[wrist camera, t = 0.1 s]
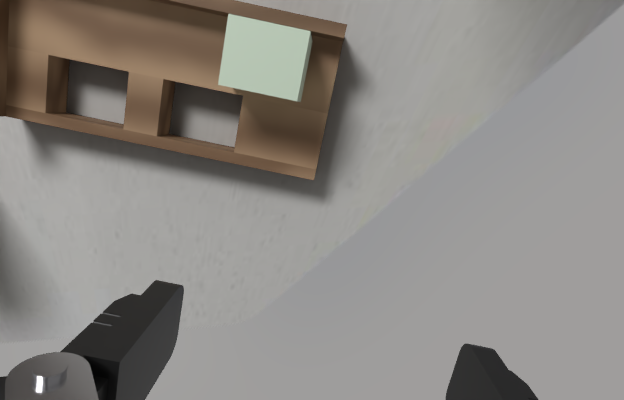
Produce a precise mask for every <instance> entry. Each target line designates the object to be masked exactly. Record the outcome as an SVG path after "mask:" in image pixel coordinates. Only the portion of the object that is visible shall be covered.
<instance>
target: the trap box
mask: <svg viewBox="0 0 624 400" xmlns="http://www.w3.org/2000/svg"><path fill="white" fill-rule="evenodd" d="M228 14H233V15H237V16H242V17H247V18H251V19H256V20H261V21H265V22H270V23H275V24H279V25H284V26H289V27H293V28H298V29H303V30H307V31H311V36H312V47H311V52H310V57H309V62H308V67H307V73H306V78H305V83H304V88H303V93H302V98H301V102H298V101H293V100H288V99H283V98H279V97H274V96H269V95H264V94H260V93H255V92H250V91H246V90H241V89H236V88H231V87H227V86H222V85H218V81H219V74H220V67H221V61H222V54H223V47H224V40H225V33H226V27H227V20H228ZM346 27H347V25H346V24H342V23H337V22H332V21H328V20H323V19H319V18H314V17H309V16H305V15H300V14H295V13H291V12H286V11H281V10H277V9H272V8H267V7H263V6H258V5H253V4H249V3H244V2H240V1H235V0H0V116H7V117H12V118H17V119H22V120H26V121H31V122H36V123H41V124H46V125H50V126H55V127H60V128H65V129H70V130H74V131H79V132H84V133H89V134H94V135H99V136H103V137H108V138H113V139H118V140H123V141H127V142H132V143H137V144H142V145H147V146H151V147H156V148H161V149H166V150H171V151H176V152H180V153H185V154H190V155H195V156H200V157H204V158H209V159H214V160H219V161H224V162H228V163H233V164H238V165H243V166H248V167H253V168H257V169H262V170H267V171H272V172H277V173H281V174H286V175H291V176H296V177H301V178H305V179H310V180H314V177H315V173H316V168H317V163H318V158H319V154H320V149H321V144H322V139H323V135H324V130H325V125H326V120H327V115H328V111H329V106H330V101H331V96H332V92H333V87H334V82H335V77H336V73H337V68H338V63H339V58H340V54H341V49H342V44H343V40H344V36H345V31H346ZM70 59H71V60H76V61H81V62H85V63H90V64H95V65H99V66H104V67H109V68H114V69H118V70H123V71H128V72H129V77H128V87H127V97H126V108H125V118H124V124H119V123H114V122H109V121H105V120H100V119H95V118H90V117H85V116H81V115H76V114H71V113H66V107H67V92H68V76H69V61H70ZM175 82H180V83H185V84H190V85H194V86H199V87H204V88H209V89H213V90H218V91H223V92H227V93H232V94H237V95H242V96H243V99H242V106H241V112H240V118H239V124H238V130H237V137H236V143H235V148H234V147H229V146H224V145H220V144H215V143H210V142H205V141H200V140H196V139H191V138H186V137H181V136H176V135H172V134H169V131H170V123H171V115H172V107H173V99H174V90H175Z"/></svg>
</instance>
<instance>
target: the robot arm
mask: <svg viewBox="0 0 624 400" xmlns="http://www.w3.org/2000/svg"><path fill="white" fill-rule="evenodd" d="M183 294H184V288H183V286H182V285H178V284H173V283H168V282H163V281H158V280H156V281H154V282H153V283H152V284H151V285H150V286H149V287H148V288H147V290H146V291H145V292H144V293H143V294H142V295H141V296H140V295H136V294H130V295H127V296H125V297H123V298H121V299H118V300H116V301H114V302H113V303H112V304H111V305H110V306H109V307H108V308H107V309H106V310H104V311H103V314H100V315H99V316H98V317H97V318H96V319H95V320H94V322H93V323H91V324H90V325H88V326H87V327H86V328H85V329H84V330H83V331H82V332H81V333H80V334H79V335H78V336H77V337H76V338H75V339H74V340H72V341H71V343H69V344H68V345H67V346H66V347H65V348H64V349H63V350H62V351H61V352H53V353H46V354H42V355H38V356H35V357H32V358H30V359H27V360H25V361H23V362H21V363H20V364H19V365H17V366H16V367H15V368H13V369H12V370H11V371H10V373H9V374H8V376H6V377H0V400H145V399H146V397H147V395H148V394H149V392H150V390H151V389H152V387H153V385H154V384H155V382H156V380H157V379H158V377H159V375H160V374H161V372H162V370H163V369H164V367H165V365H166V364H167V362H168V361H169V359H170V357H171V355H172V353H173V350H174V347H175V343H176V340H177V335H178V329H179V322H180V315H181V308H182V301H183ZM446 400H538V398H537V397H536V396H535V394H534V393H533V392H532V390H531V389H530V387H529V386H528V385H527V384H526V383H525V382H524V381H523V380H521V379H520V378H519V377H518V376H517V375H515V374H514V373H513V372H512V371H509V370H508V368H507V367H506V366H505V364H504V363H503V361H502V360H501V358H500V357H499V356H498V354H497V353H496V351H495V350H493V349H491V348H486V347H481V346H476V345H471V344H464V345H463V346H462V348H461V350H460V352H459V355H458V358H457V361H456V364H455V368H454V371H453V374H452V377H451V380H450V383H449V386H448V389H447V393H446Z"/></svg>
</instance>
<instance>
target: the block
mask: <svg viewBox="0 0 624 400" xmlns="http://www.w3.org/2000/svg"><path fill="white" fill-rule="evenodd" d="M311 47H312V36H311V31H307V30H303V29H298V28H293V27H289V26H284V25H279V24H275V23H270V22H265V21H261V20H256V19H251V18H247V17H242V16H237V15H233V14H228V20H227V27H226V33H225V40H224V47H223V54H222V61H221V67H220V74H219V81H218V85H222V86H227V87H231V88H236V89H241V90H246V91H250V92H255V93H260V94H264V95H269V96H274V97H279V98H283V99H288V100H293V101H298V102H301V98H302V93H303V88H304V83H305V78H306V73H307V67H308V62H309V57H310V52H311Z"/></svg>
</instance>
